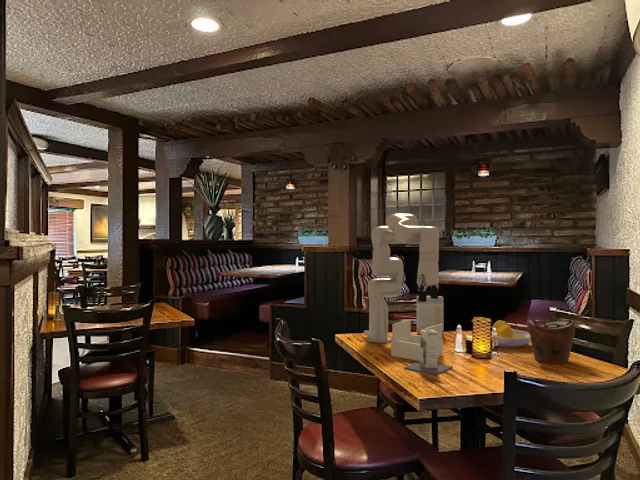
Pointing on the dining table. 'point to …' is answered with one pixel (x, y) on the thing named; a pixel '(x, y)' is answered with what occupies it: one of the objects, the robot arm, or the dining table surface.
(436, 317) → the cracker box
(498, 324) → the fruit bowl
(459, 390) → the dining table surface
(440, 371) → the mat
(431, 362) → the syrup box
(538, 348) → the brown flower pot
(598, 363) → the dining table surface
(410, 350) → the carton
